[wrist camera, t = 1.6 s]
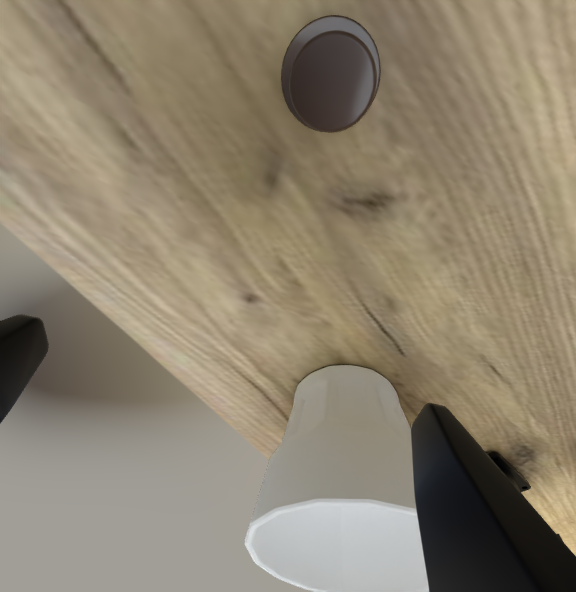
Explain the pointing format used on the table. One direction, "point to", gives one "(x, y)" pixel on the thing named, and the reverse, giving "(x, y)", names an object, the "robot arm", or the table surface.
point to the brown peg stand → (330, 73)
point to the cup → (341, 490)
